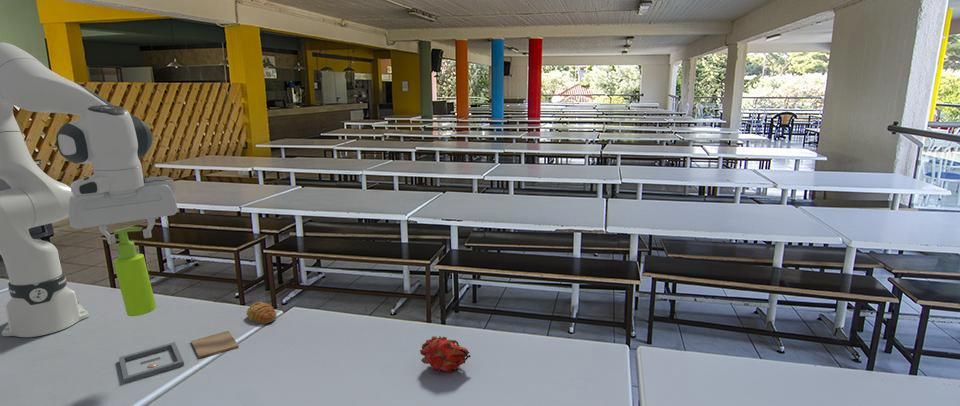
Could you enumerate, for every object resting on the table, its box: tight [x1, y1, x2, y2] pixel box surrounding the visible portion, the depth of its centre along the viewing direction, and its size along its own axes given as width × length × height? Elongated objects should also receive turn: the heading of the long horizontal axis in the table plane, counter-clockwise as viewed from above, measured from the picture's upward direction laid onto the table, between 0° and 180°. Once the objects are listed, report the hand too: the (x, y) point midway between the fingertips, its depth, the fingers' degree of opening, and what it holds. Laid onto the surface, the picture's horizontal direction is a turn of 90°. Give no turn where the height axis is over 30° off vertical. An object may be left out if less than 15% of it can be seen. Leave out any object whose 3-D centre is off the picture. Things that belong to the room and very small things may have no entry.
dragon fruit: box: [419, 335, 471, 374], centre depth 123 cm, size 8×8×12 cm
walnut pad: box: [190, 330, 239, 359], centre depth 136 cm, size 10×9×1 cm
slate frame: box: [118, 341, 185, 384], centre depth 127 cm, size 12×12×1 cm
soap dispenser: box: [112, 226, 157, 317], centre depth 121 cm, size 6×7×20 cm
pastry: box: [246, 301, 277, 325], centre depth 150 cm, size 9×7×4 cm
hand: (130, 240), depth 120 cm, fingers closed on soap dispenser, 5 cm apart
